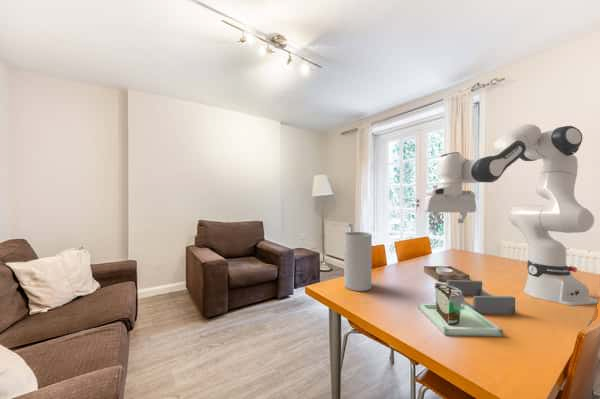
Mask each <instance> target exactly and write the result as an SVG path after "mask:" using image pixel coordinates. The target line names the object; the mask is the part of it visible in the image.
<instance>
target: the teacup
mask: <svg viewBox="0 0 600 399" xmlns="http://www.w3.org/2000/svg"><path fill="white" fill-rule="evenodd" d="M436 272H437V273H438V274H452V272H453V270H451V269H448V268H443V267H438V268H436Z"/></svg>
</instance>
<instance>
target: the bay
mask: <svg viewBox="0 0 600 399" xmlns="http://www.w3.org/2000/svg"><path fill="white" fill-rule="evenodd" d="M446 285H450V286H453V287H456V288H458V289H459V290H461V292H462V294H463V296H472V304H471V303H469V302H467V301H466V300H465V299H464V300H463V301H462V302H461V304H466V305H467V306H469V307H470V308H472V309H473V310H474V311H476V312H477V313H479V314H480V315H516V297H514V296H509V295H508V296H507V295H504V296H502V295H500V296H499V295H498V296H497V295H493V294H491V293H489V292H487V291H486V290H483V281H482V280H470V281H465V280H447V282H446Z"/></svg>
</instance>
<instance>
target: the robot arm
mask: <svg viewBox="0 0 600 399" xmlns="http://www.w3.org/2000/svg"><path fill="white" fill-rule="evenodd" d="M582 142H583V134H582V132H581V130H580V129H578V128H577V127H576V126H573V125H565V126H560V127H556V128H555V129H550V130H547V131H544V132H542V130H541V128H540V127H539V126H537V125H536V124H531V123H529V124H528V123H527V124H523V125H520V126H518V127H515V128H513V129H510V130H508V131H507V132H505V133H503V134H502V135H501V136H499V137H498V138H497V139H496V140H495V141H494V142H493V145H492V150H493V153H494V154H495V155H490V156H489V155H488V156H485V157H481V158H475V159H468V158H465V157H464V156H463V155H462V154H461V152H459V151H454V152H449V153H444V154H441V155H440V157H439V158H438V161H437V162H438V163H437V164H438V165H437V177H438V180H437V186H436V187H434V188H433V187H432V188H429V189H426V191H425V194H426V196H425V198H424V201H423V210H424V212H425V213H432V216H433V217H434V219H435V221H434V222H435V224H442V219H441V218H439V215H440V214H439V213H460V218H457V223H458V224H464V223H465V219H466V217H467V215H468V213H475V212H476V211H477V202H476V193H475V192H473V191H472V190H463V184H474V183H475V184H476V183H494V182H496V181H497V180H499V179H500V178H501V177H502V175H503V173H504V172H505V171H506V170H507V168H509V167H510V166H512V164H514V163H515V162H516V161H518V160H519V159H521V160H522V161H524V162H533V161H537V160H542V161H543V165H542V167H541V170H540V173H539V176H538V180H537V184H536V189H535V190H536V194H537V195H539V196H540V197H541V198H543V199H546V200H548V201H549V204H545V205H543V204H525V205H517V206H514V207H512V209H511V210H510V212H509V214H508V218H509V221H510V223H511V224H512V225H513V226H514V227H515V228H517V229H519V231H520V232H521V233H522V234H523V235H524V237H525V239H526V242H527V247H528V260H527V262H526V264H527V267H526V268H527V276H526V281H525V285H524V288H523V292H524V293H525V294H527V295H528V296H531V297H534V298H536V299H540V300H543V301H547V302H548V301H549V302H552V303H558V304H562V305H565V306H581V305H583V306H584V305H593V304H598V303H597V301H598V302H599V300H598V298H597V299H596V298H595V297H593V296H591V295H590V292H589V291H590V290H589V288H588V286H587V284H585V283H583V282H582V281H581V280H579V279H577V278H576V277H575V276H573V275H572V273H571V272H573V273H577V271H578V268H577V267H576V266H572V265H570V266H568V265H567V248H566V246H565V245H564V244H563V243H562V242H560V241H558V240H556V239H555V238H553V237H552V236H551V235H550V233H549V232H556V233H567V234H571V233H573V234H574V233H586V232H588V231H589V230H591V229H592V227H593V226H594V223H595V217H594V215H593V213H592V212H591V211H590V210H589V209H588V208H586V207H584V206H583V205H582V204H580V203H579V202H578V201H577V199H576V197H575V185H576V181H577V177H578V176H577V175H578V170H579V169H578V168H579V166H578V158H577V157H576V156H575V154H576V153H577V152H578V151H579V148H580V146H581V145H582Z"/></svg>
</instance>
